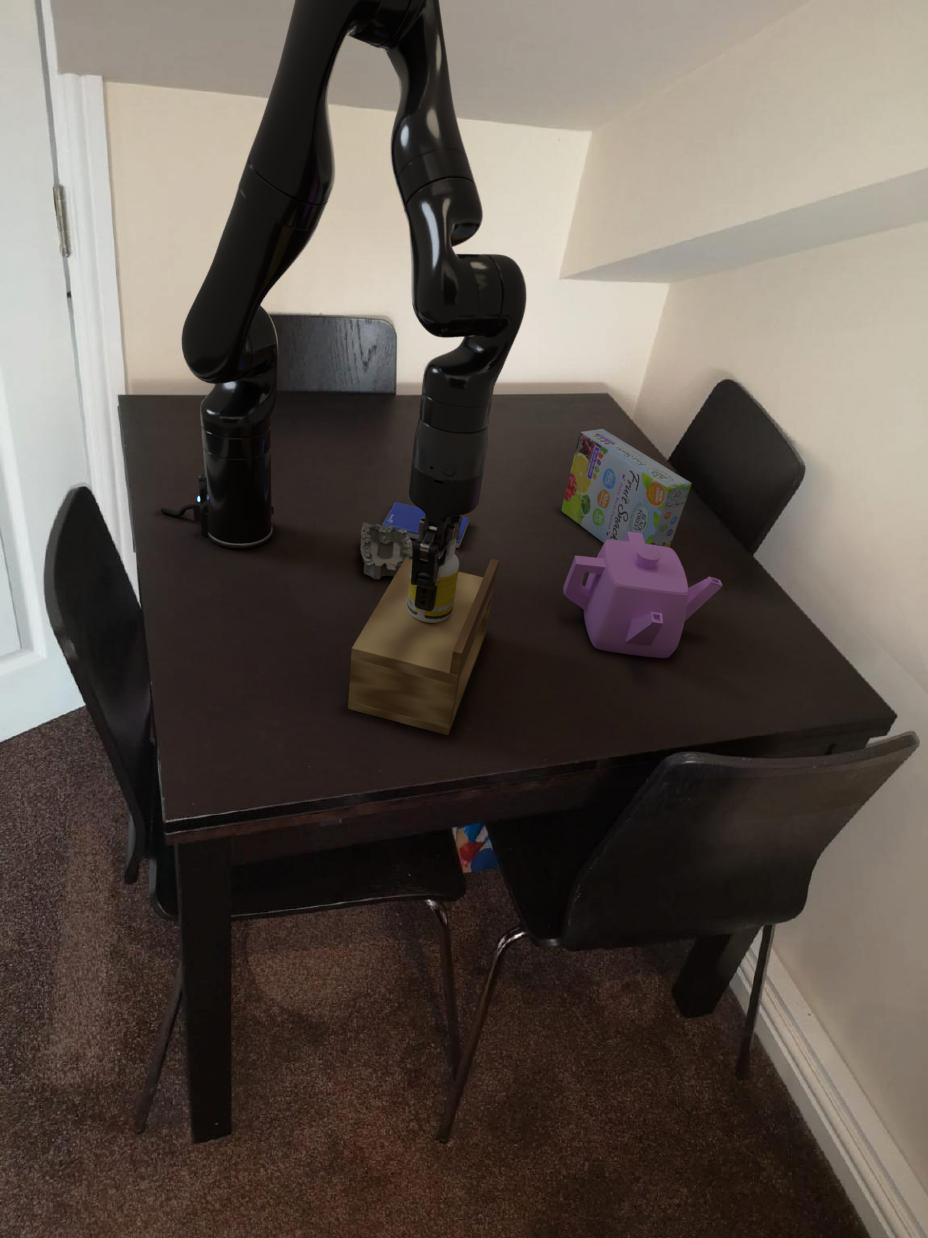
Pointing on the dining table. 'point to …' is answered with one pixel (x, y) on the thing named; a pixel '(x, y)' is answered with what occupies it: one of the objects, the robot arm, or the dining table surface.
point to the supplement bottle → (438, 591)
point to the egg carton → (384, 549)
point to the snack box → (622, 491)
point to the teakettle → (635, 597)
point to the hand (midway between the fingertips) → (431, 593)
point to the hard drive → (414, 520)
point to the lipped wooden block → (420, 654)
